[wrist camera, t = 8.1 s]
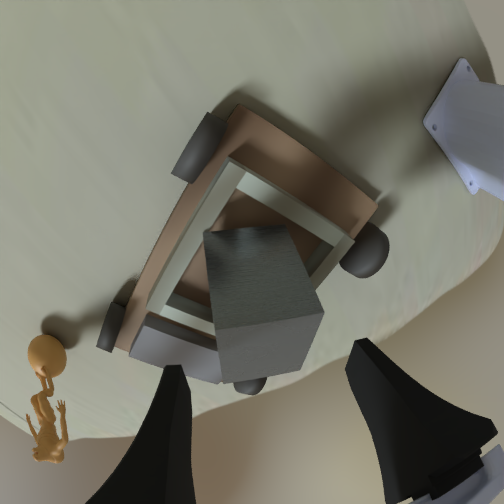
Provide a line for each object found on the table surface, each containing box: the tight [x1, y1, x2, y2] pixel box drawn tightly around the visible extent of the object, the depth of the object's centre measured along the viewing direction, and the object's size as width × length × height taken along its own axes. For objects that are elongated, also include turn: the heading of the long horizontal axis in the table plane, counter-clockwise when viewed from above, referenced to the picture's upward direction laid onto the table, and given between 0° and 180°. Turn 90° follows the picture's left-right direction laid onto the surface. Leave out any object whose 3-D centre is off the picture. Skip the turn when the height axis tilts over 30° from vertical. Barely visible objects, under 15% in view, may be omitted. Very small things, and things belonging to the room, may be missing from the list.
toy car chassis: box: [96, 104, 389, 395], centre depth 18 cm, size 13×20×4 cm
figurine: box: [26, 335, 68, 463], centre depth 16 cm, size 8×6×12 cm
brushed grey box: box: [203, 224, 325, 384], centre depth 15 cm, size 4×6×6 cm
